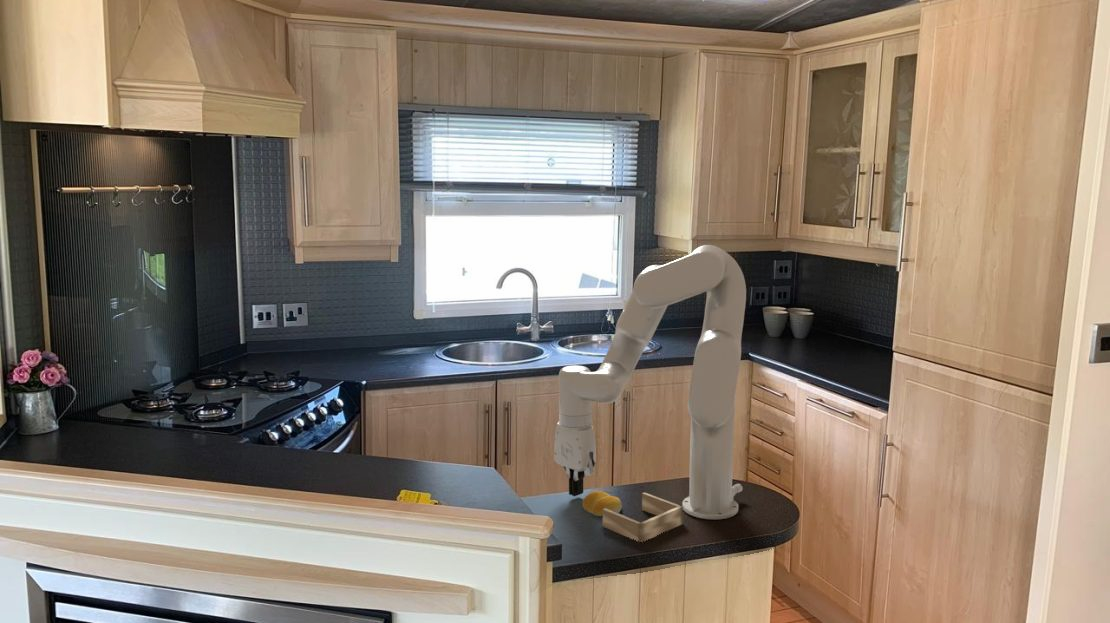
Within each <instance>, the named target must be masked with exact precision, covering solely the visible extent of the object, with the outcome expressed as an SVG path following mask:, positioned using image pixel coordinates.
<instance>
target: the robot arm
mask: <svg viewBox="0 0 1110 623" xmlns="http://www.w3.org/2000/svg"><path fill="white" fill-rule="evenodd" d="M746 287H747V285H746V280H745V276H744V273H743V271H742V268H741V267H740V265H739V264H738V262H737V261H736V260H735V258H734V257H732V256H731V254H729V253H728V252H727V251H725V250H724V249H722V248H721V247H718V246H716V245H713V244H704V245H700V246H699V247H697V248H695V249H694V250H692V252H691V253H690V254H688V255H684V256H683V257H681V258H678V259H675V260H673V261H670V262H668V263H665V264H652V265H649V266H647V267H646V268H644V269H643V270H642V271H641V272H640V273H639V274H638V275H637V277H636V279H635V281H634V283H633V289H632V291H631V293H630V295H629V297H628V299H627V302H626V303H625V305H624V308H623V309H622V312H621V313H620V316H619V317H618V319H617V322H616V325H615V333H614V337H613V339H612V341H611V344H610V346H609V348H608V351H607V352H606V354H605V356H604V358H603V360H602V362H601V364H600V366H599V368H598V369H597V370H596V371H591V370H590V368H588V367H586V366H584V365H577V364H575V365H573V364H572V365H567V366H564V367H562V368H560V370H559V373H558V417H559V418H558V419H559V420H558V422H557V424H556V427H555V428H556V429H555V432H554V433H555V434H554V442H553V443H554V445H553V446H554V447H553V456H554V457H553V459H554V461H555V463H557V464H558V465H559V466H561V467H562V468H563V469H564V471H565V475H566V478H568V494H569V495H570V496H572V497H577V496H581V495H582V494H584V479H585V478H586V476H587V477H590V476H592V475H594V473H595V471H594V468H595V467H596V463H597V449H596V446H597V445H596V437H595V431H594V426H593V425H592V424H593V418H592V413H593V412H592V406H593V405H592V402H594V403H598V404H612V403H615V402H616V401H617V400H618V399H619V398H620V397H621V395H622V393H623V391H624V389H625V388H626V387H627V384H628V382H629V381H630V379H631V376H632V374H633V372H634V371H635V369H636V367H637V364H638V363H639V360H640V358H641V356H642V355H643V353H644V350H645V349H646V348H647V346H648V345H649V344H650V342H651V340H652V338H653V336H654V334H655V332H656V330H657V328H658V326H659V325H660V322H661V320H662V319H663V316H664V314H665V312H666V310H667V308H668V306H670V305H673V304H676V303H679V302H682V301H684V300H687V299H690V298H692V297H695V296H698V295H701V294H703V293H706V300H705V305H704V306H705V307H704V317H703V323H702V330H701V334H700V338H699V339H698V342H697V344H696V347H695V348H696V349H695V351H694V358H693V363H692V364H693V365H692V370H691V371H692V372H691V377H690V385H689V391H688V400H687V409H688V413H689V415H690V431H689V432H690V435H689V436H690V438H689V440H690V441H689V485H688V486H689V487H688V488H689V490H688V491H689V492H688V494H689V495H688V496H687V497H685V498H684V499H683V500H682V502H681V504H682V505H681V506H683V512H685V513H686V514H688V515H690V516H692V517H696V518H698V519H703V520H712V521H713V520H723V519H725V520H726V519H729V518H732V517H734V516H735V515H737V513H739V503H738V502H737V501H736V500H735V499H734V497H735V496H736V494H738V493H740V492H743V486H742V484H740V483H736V484H734V485H733V467H734V466H733V464H734V463H733V461H734V460H733V459H734V438H735V437H734V434H735V433H734V432H735V430H734V429H735V410H736V409H735V408H736V407H735V405H736V392H737V386H738V380H739V373H740V366H741V358H742V336H743V334H742V333H743V328H744V321H745V311H746V302H747V288H746Z"/></svg>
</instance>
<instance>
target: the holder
mask: <svg viewBox="0 0 1110 623" xmlns="http://www.w3.org/2000/svg"><path fill="white" fill-rule="evenodd" d="M641 495H642V496H641V510H642V511H644V512H646V513H649V514H651V515H654V516H653V517H650V518H648V519H647V520H643V521H641V522H640V521H637V520H635V519H633V518H630V517H629V516H626V515H623V514H621V513H616V512H613V511H611V510H608V509H606V508H605V509H603V517H602V527H603V528H606V529H608V530H609V531H611V532H614V533H617V534H619V535H621V536H624V537H626V538H628V537H629V539H630V540H633V539H634V540H633V541H635V540H636V542H638V541H639V542H638V543H640V542H642V543H644V542H646V540H647V541H648V539H649V540H650V539H653V538H655V537H657V535H658V536H660V535H661V533H662V534H663V532H664V533H666V532H668V531H670V530H672V529H675V528H677V527H680V526H682V525H683V524H684V510H683V506H682V505H679V504H677V503H675V502H672V501H669V500H666V499H663V498H660V497H658V496H655V495H653V494H650V493H647V492H642V493H641ZM665 531H666V532H665ZM659 534H660V535H659ZM643 541H644V542H643Z"/></svg>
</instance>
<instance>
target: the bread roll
mask: <svg viewBox="0 0 1110 623" xmlns="http://www.w3.org/2000/svg"><path fill="white" fill-rule="evenodd" d="M622 505H623V504H622V501H621V499H620V498H619V497H618V496H614V495H611V494H609V493H607V492H606V491H603V490H594V491H592V492H590V493H588V494H587V495H586V496H584V498H583V500H582V507H583V509H584V510H585V511H586V512H587V513H590V514H592V515H593V516H596V517H599V516H600V517H602V516H603V509H605V508H606V509H608V510H611V511H613V512H616V513H618V514H620V512H621V511H622V508H623V506H622ZM602 518H603V517H602Z"/></svg>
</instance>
